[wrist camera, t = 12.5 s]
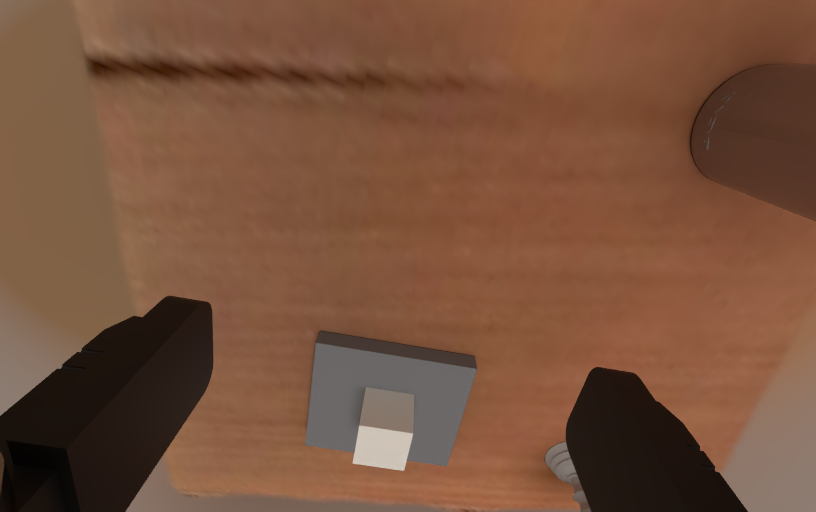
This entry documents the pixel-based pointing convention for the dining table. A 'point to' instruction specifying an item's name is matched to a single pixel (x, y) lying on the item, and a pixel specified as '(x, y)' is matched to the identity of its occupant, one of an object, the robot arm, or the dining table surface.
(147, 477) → the robot arm
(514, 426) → the dining table surface
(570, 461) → the chalice
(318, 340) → the slate board
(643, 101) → the dining table surface
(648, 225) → the dining table surface
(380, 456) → the cube
